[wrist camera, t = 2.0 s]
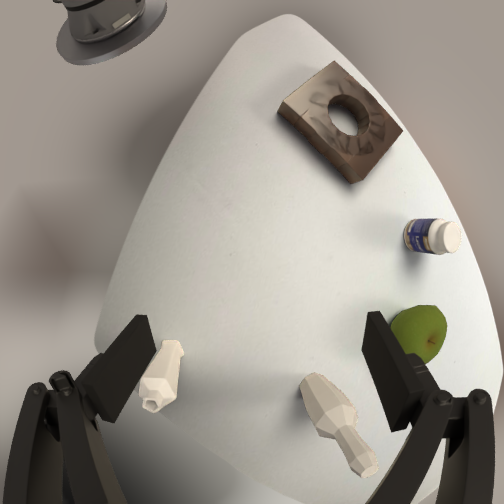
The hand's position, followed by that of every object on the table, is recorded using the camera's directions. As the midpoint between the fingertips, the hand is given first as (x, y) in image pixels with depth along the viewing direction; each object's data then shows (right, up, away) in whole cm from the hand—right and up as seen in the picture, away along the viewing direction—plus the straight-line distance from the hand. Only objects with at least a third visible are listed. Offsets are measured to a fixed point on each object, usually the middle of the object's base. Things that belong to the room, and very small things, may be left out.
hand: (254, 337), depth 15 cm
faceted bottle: (+10, -18, +27) cm, 34 cm away
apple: (+27, -8, +28) cm, 40 cm away
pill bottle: (+28, +8, +27) cm, 40 cm away
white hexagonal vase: (-13, -10, +24) cm, 29 cm away
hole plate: (+14, +26, +24) cm, 38 cm away
